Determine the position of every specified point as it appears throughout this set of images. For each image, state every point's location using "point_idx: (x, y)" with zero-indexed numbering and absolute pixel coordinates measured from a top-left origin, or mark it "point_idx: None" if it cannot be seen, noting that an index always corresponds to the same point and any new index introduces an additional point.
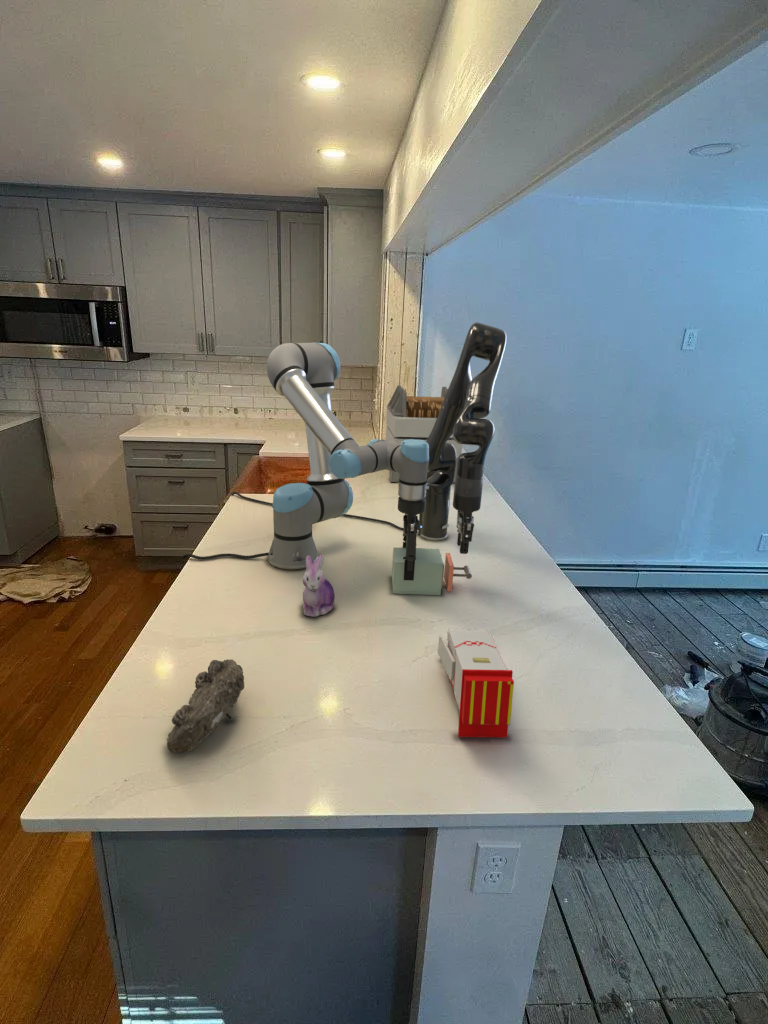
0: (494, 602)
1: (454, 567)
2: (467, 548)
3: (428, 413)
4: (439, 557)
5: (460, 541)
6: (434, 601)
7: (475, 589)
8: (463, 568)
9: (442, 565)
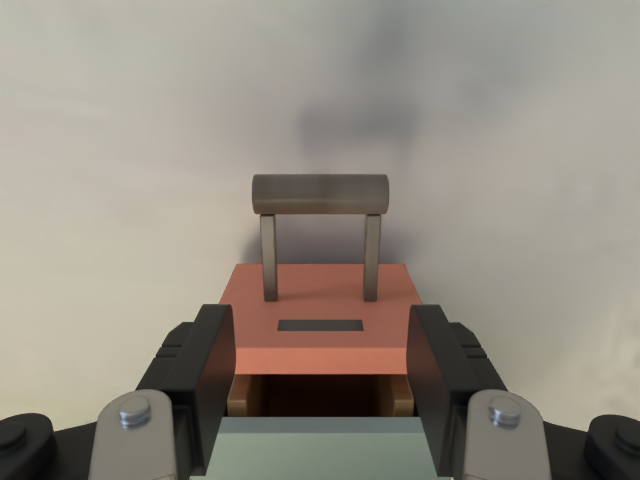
0: (500, 28)
1: (270, 274)
2: (483, 352)
3: None
4: (349, 447)
5: (226, 373)
6: None
7: (339, 117)
8: (274, 216)
9: None
